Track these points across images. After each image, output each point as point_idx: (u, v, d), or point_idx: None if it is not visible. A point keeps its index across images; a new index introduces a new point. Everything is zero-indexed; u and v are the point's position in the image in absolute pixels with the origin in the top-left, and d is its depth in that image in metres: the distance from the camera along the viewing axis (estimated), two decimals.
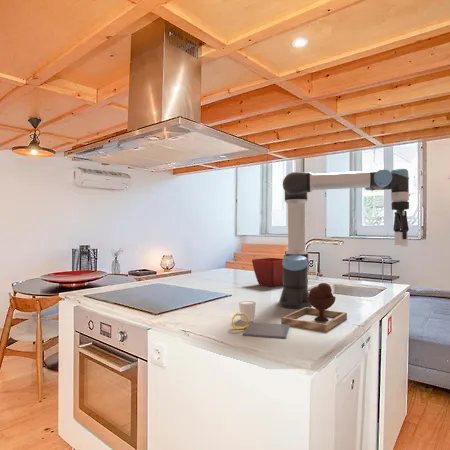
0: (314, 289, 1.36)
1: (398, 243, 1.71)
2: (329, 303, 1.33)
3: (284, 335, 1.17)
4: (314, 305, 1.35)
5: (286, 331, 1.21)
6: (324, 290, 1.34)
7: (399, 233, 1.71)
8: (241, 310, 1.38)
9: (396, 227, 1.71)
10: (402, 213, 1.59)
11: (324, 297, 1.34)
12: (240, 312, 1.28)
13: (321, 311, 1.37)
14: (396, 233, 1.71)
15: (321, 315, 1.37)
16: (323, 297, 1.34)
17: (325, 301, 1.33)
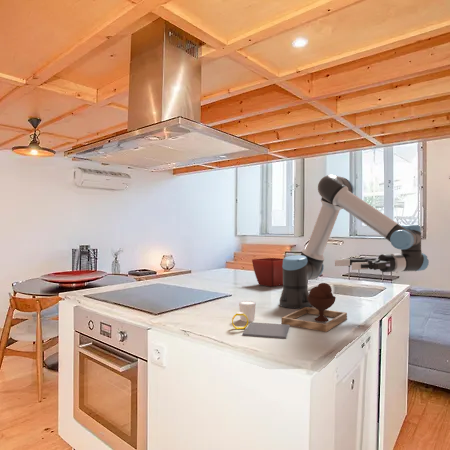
0: (314, 289, 1.36)
1: (337, 263, 1.46)
2: (329, 303, 1.33)
3: (284, 335, 1.17)
4: (314, 305, 1.35)
5: (286, 331, 1.21)
6: (324, 290, 1.34)
7: (348, 264, 1.47)
8: (241, 310, 1.38)
9: (355, 260, 1.47)
10: (387, 263, 1.35)
11: (324, 297, 1.34)
12: (240, 312, 1.28)
13: (321, 311, 1.37)
14: (348, 261, 1.47)
15: (321, 315, 1.37)
16: (323, 297, 1.34)
17: (325, 301, 1.33)
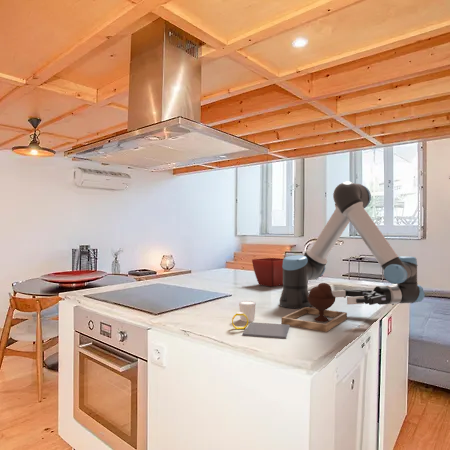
0: (314, 289, 1.36)
1: None
2: (329, 303, 1.33)
3: (284, 335, 1.17)
4: (314, 305, 1.35)
5: (286, 331, 1.21)
6: (324, 290, 1.34)
7: (343, 295, 1.46)
8: (241, 310, 1.38)
9: (351, 292, 1.46)
10: (383, 297, 1.34)
11: (324, 297, 1.34)
12: (240, 312, 1.28)
13: (321, 311, 1.37)
14: (343, 292, 1.46)
15: (321, 315, 1.37)
16: (323, 297, 1.34)
17: (325, 301, 1.33)
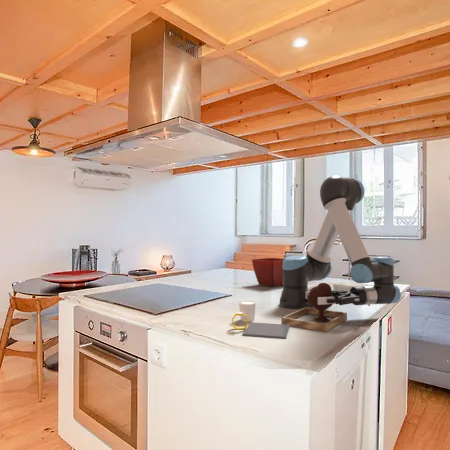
0: (314, 289, 1.36)
1: None
2: None
3: (284, 335, 1.17)
4: (314, 305, 1.35)
5: (286, 331, 1.21)
6: (324, 290, 1.34)
7: None
8: (241, 310, 1.38)
9: None
10: (356, 298, 1.33)
11: None
12: (240, 312, 1.28)
13: (321, 311, 1.37)
14: None
15: (321, 315, 1.37)
16: None
17: None
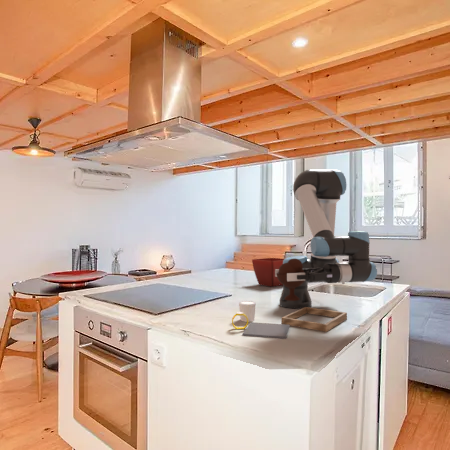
0: (284, 265, 1.25)
1: None
2: None
3: (284, 335, 1.17)
4: (284, 282, 1.24)
5: (286, 331, 1.21)
6: (294, 266, 1.23)
7: None
8: (241, 310, 1.38)
9: None
10: (329, 274, 1.22)
11: None
12: (240, 312, 1.28)
13: (291, 289, 1.25)
14: None
15: (291, 294, 1.26)
16: None
17: None
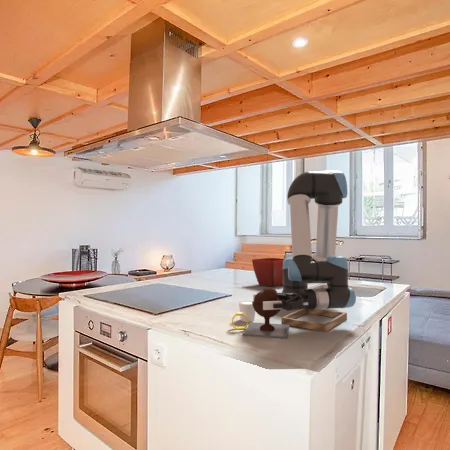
0: (258, 294, 1.23)
1: None
2: None
3: (284, 335, 1.17)
4: (258, 312, 1.22)
5: (286, 331, 1.21)
6: (269, 296, 1.21)
7: None
8: (241, 310, 1.38)
9: None
10: (305, 302, 1.20)
11: None
12: (240, 312, 1.28)
13: (266, 319, 1.24)
14: None
15: (266, 323, 1.24)
16: None
17: None
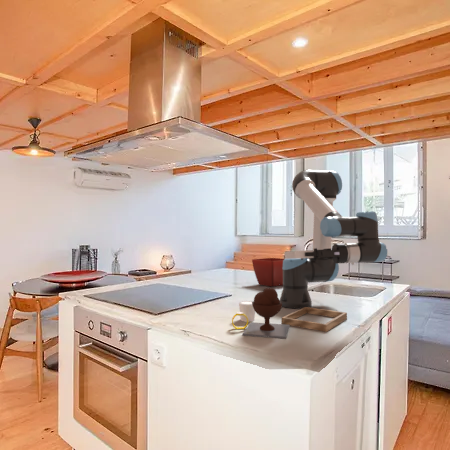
0: (258, 294, 1.23)
1: (287, 255, 1.35)
2: (273, 310, 1.20)
3: (284, 335, 1.17)
4: (258, 312, 1.22)
5: (286, 331, 1.21)
6: (268, 296, 1.21)
7: None
8: (241, 310, 1.38)
9: None
10: (336, 251, 1.23)
11: (268, 303, 1.21)
12: (240, 312, 1.28)
13: (266, 319, 1.24)
14: None
15: (266, 323, 1.24)
16: (267, 303, 1.21)
17: (269, 308, 1.20)
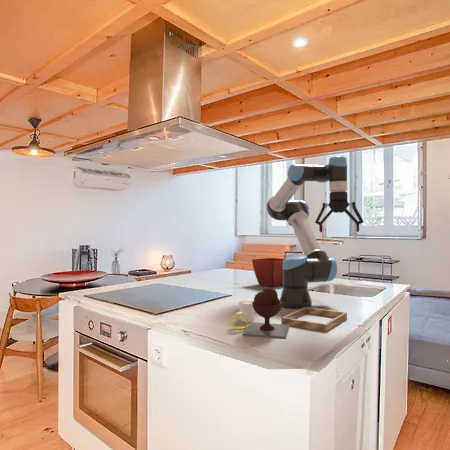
0: (258, 294, 1.23)
1: (354, 237, 1.50)
2: (273, 310, 1.20)
3: (284, 335, 1.17)
4: (258, 312, 1.22)
5: (286, 331, 1.21)
6: (268, 296, 1.21)
7: (354, 226, 1.50)
8: (241, 310, 1.38)
9: (352, 219, 1.51)
10: None
11: (268, 303, 1.21)
12: (240, 312, 1.28)
13: (266, 319, 1.24)
14: (354, 226, 1.51)
15: (266, 323, 1.24)
16: (267, 303, 1.21)
17: (269, 308, 1.20)
